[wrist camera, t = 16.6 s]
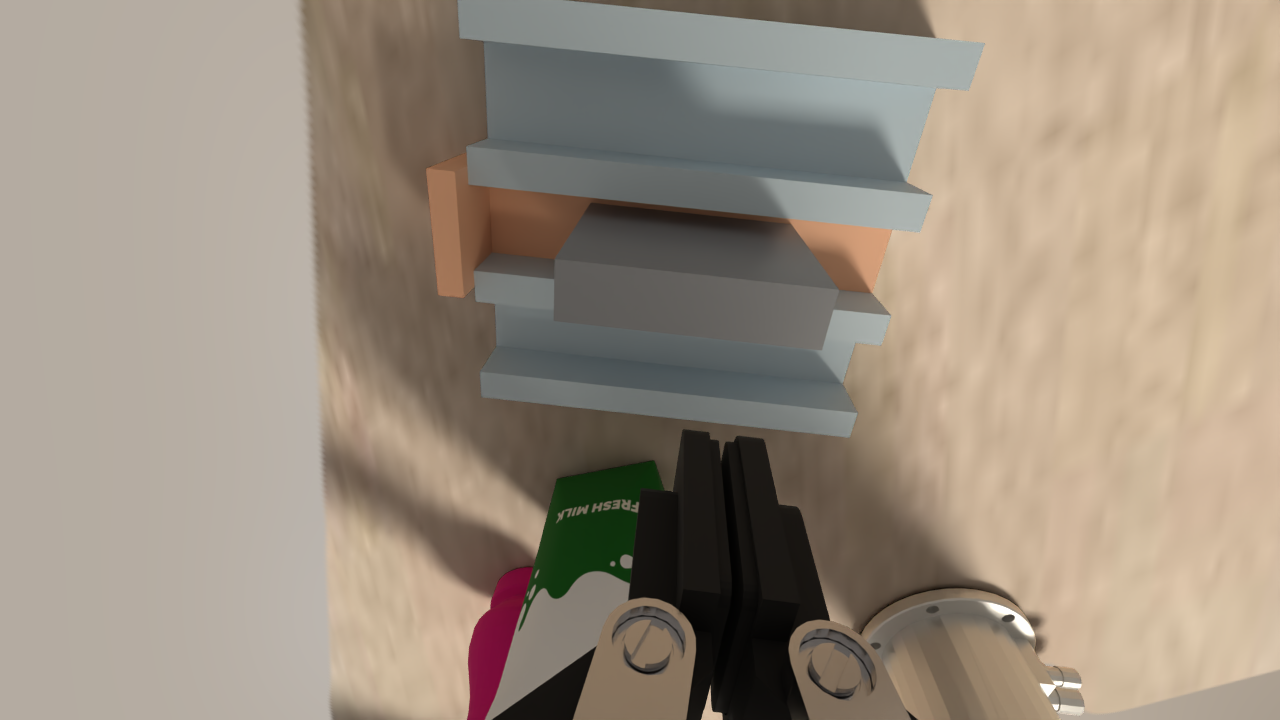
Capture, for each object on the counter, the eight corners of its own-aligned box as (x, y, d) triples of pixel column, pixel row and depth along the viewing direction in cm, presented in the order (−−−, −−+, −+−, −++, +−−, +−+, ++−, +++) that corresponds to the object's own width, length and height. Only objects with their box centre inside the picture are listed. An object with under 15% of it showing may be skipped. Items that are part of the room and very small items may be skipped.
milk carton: (664, 446, 35) (650, 825, 18) (696, 543, 39) (711, 932, 22) (539, 470, 37) (412, 839, 19) (582, 561, 41) (510, 936, 23)
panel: (588, 249, 28) (553, 321, 20) (590, 202, 27) (554, 258, 19) (781, 270, 28) (821, 350, 20) (791, 224, 27) (839, 289, 19)
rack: (939, 46, 24) (1006, 41, 19) (830, 397, 33) (857, 455, 28) (462, -3, 24) (407, -20, 19) (482, 359, 33) (449, 410, 28)
